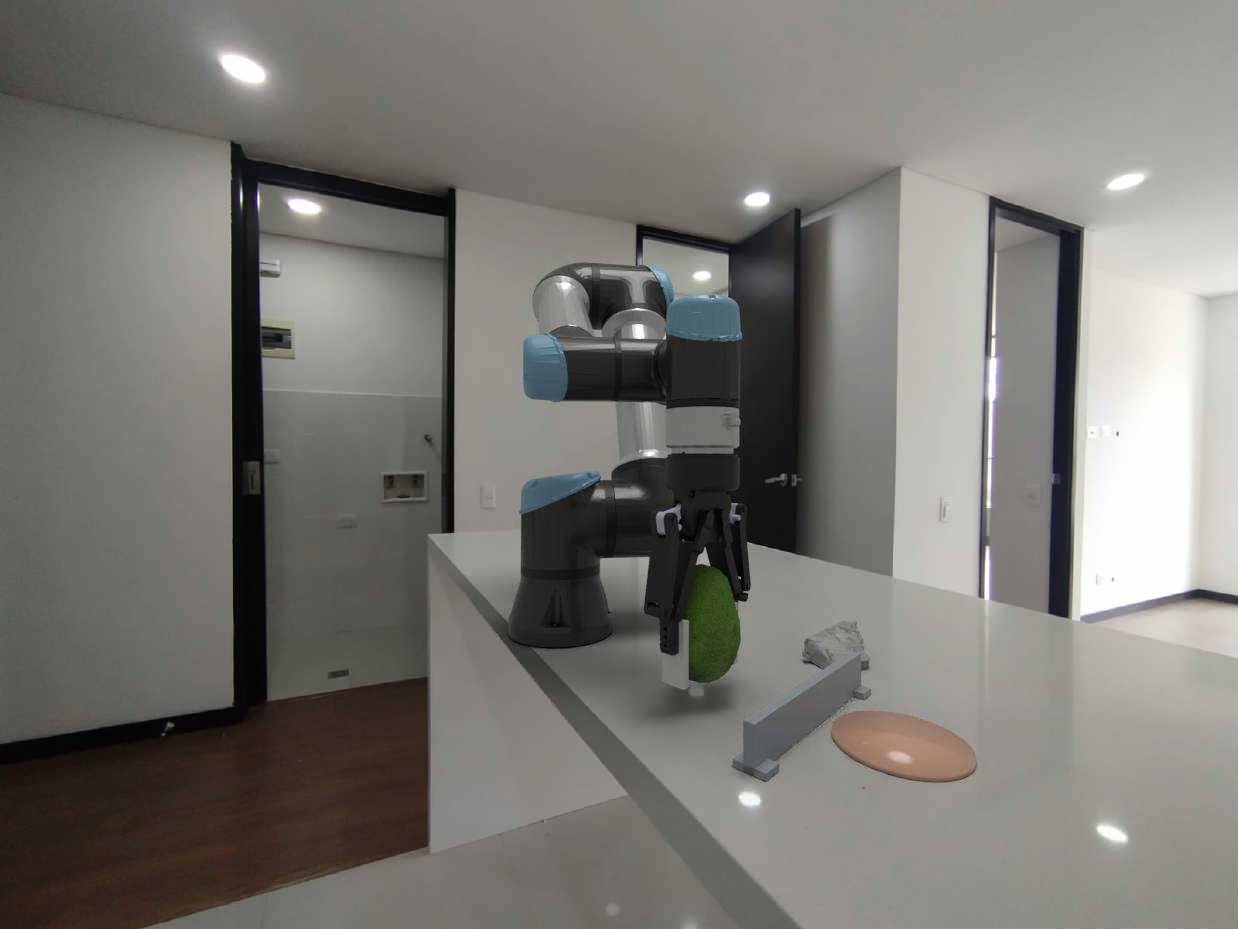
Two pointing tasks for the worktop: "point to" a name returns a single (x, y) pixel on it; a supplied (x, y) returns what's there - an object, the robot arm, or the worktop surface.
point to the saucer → (903, 746)
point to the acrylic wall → (797, 715)
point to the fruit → (711, 625)
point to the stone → (835, 644)
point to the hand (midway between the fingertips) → (701, 671)
